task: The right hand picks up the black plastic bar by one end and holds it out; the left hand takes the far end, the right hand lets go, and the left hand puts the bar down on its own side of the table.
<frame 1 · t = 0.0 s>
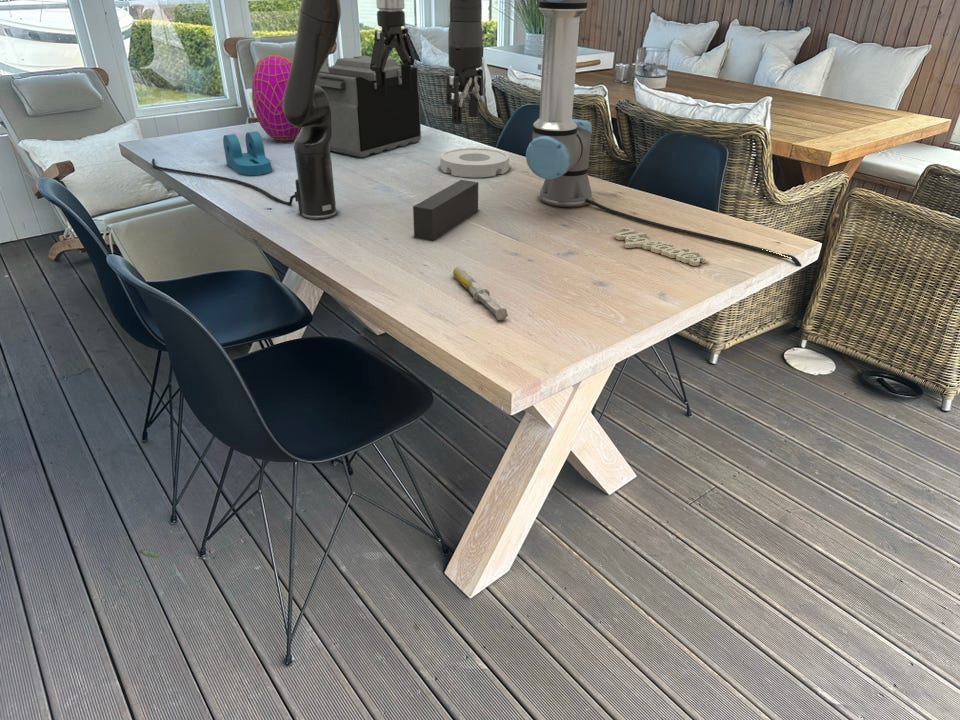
left hand: (465, 120, 159), 29 cm above the table, tool pointing down, fingers open, 8 cm apart
right hand: (394, 93, 197), 28 cm above the table, tool pointing down, fingers open, 13 cm apart
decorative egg: (284, 140, 265), on the table
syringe: (478, 297, 145), on the table
cooler box: (371, 146, 258), on the table
camera mount: (251, 168, 229), on the table
ashtray: (474, 168, 233), on the table
bar: (447, 223, 185), on the table
decorative sign: (655, 249, 170), on the table
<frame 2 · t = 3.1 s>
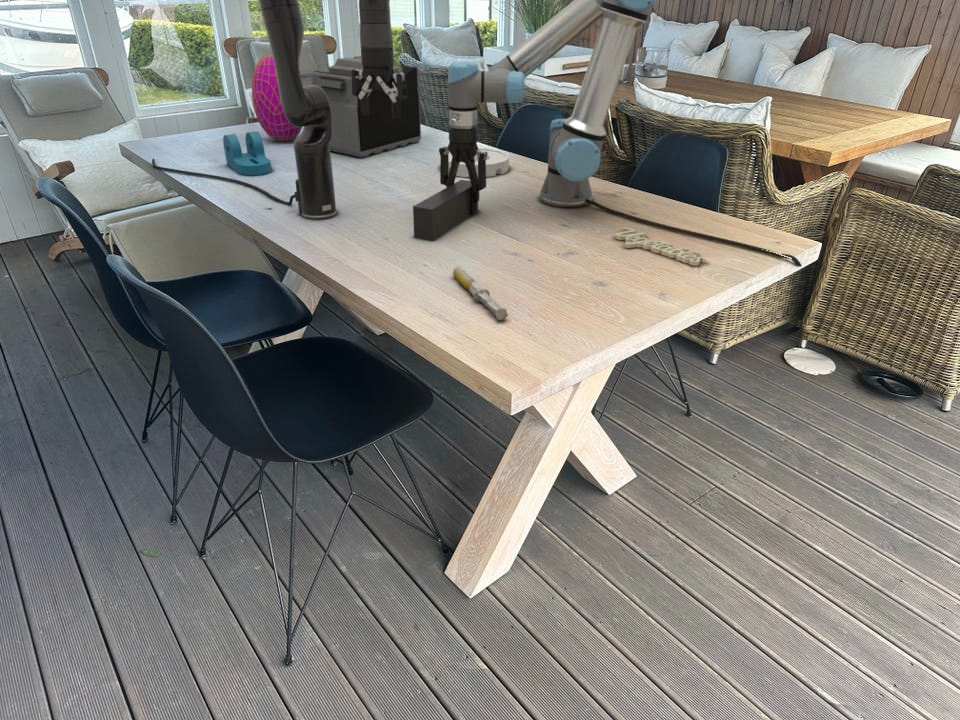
left hand: (380, 116, 168), 28 cm above the table, tool pointing down, fingers open, 8 cm apart
right hand: (463, 211, 192), 1 cm above the table, tool pointing down, fingers closed on bar, 5 cm apart
bar: (447, 223, 185), on the table, touching right hand
everything else where it was.
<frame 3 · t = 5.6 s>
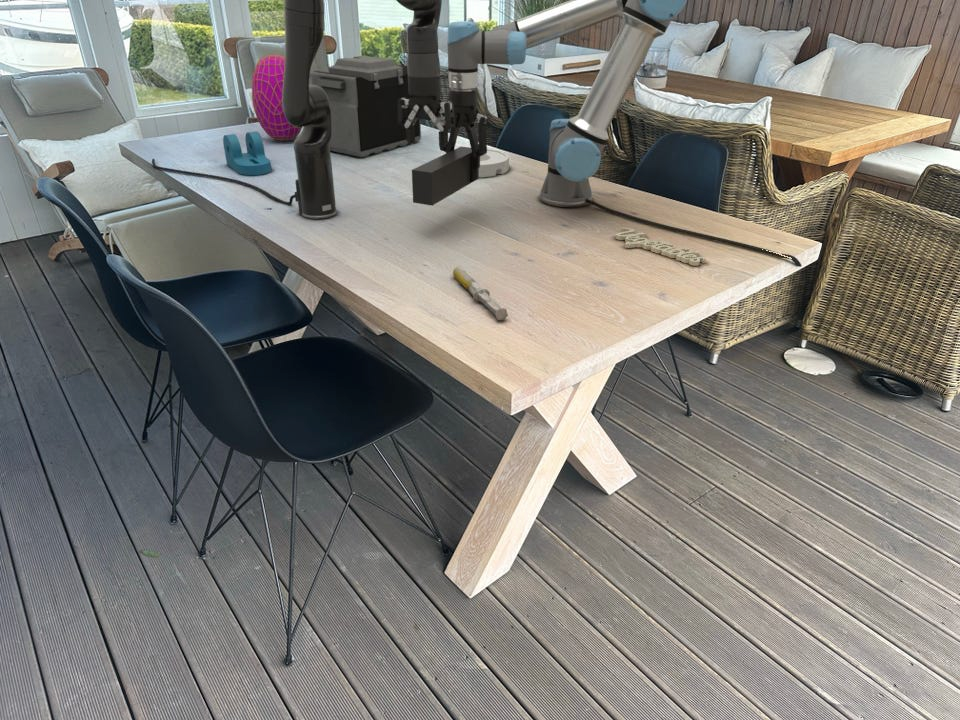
left hand: (427, 145, 166), 23 cm above the table, tool pointing down, fingers open, 8 cm apart
right hand: (463, 179, 187), 10 cm above the table, tool pointing down, fingers closed on bar, 5 cm apart
bar: (447, 190, 180), point 9 cm above the table, touching right hand
everything else where it was.
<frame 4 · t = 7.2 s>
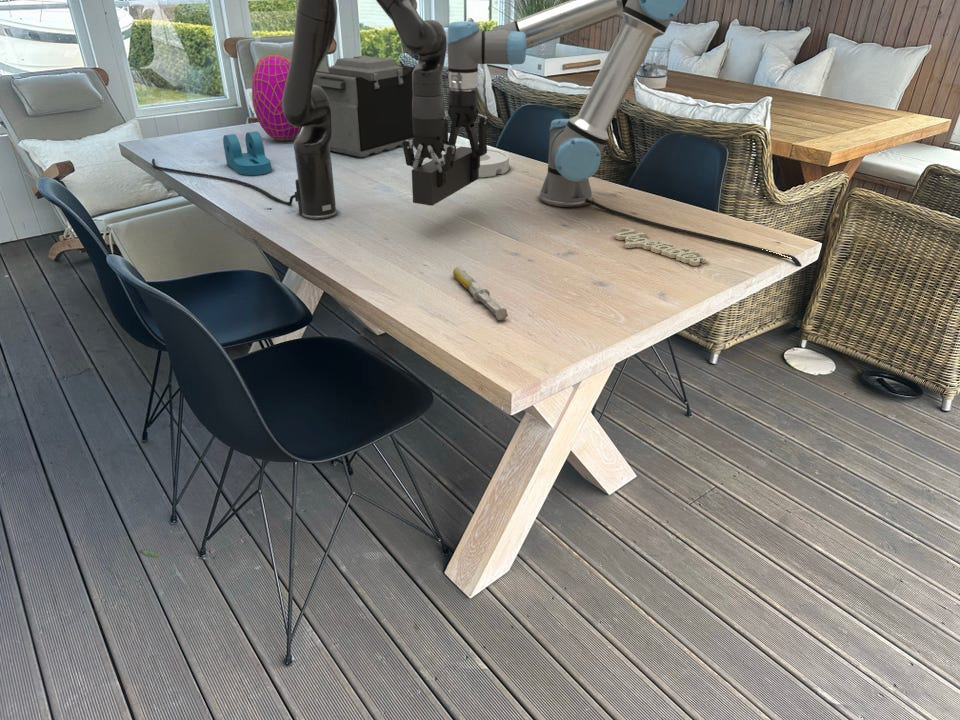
left hand: (430, 184, 171), 13 cm above the table, tool pointing down, fingers closed on bar, 5 cm apart
right hand: (463, 179, 187), 10 cm above the table, tool pointing down, fingers closed on bar, 5 cm apart
bar: (447, 190, 180), point 9 cm above the table, touching right hand, left hand
everything else where it was.
when the right hand's fingers open (10 cm above the table, at t = 8.0 s): bar stays where it is, held by the left hand.
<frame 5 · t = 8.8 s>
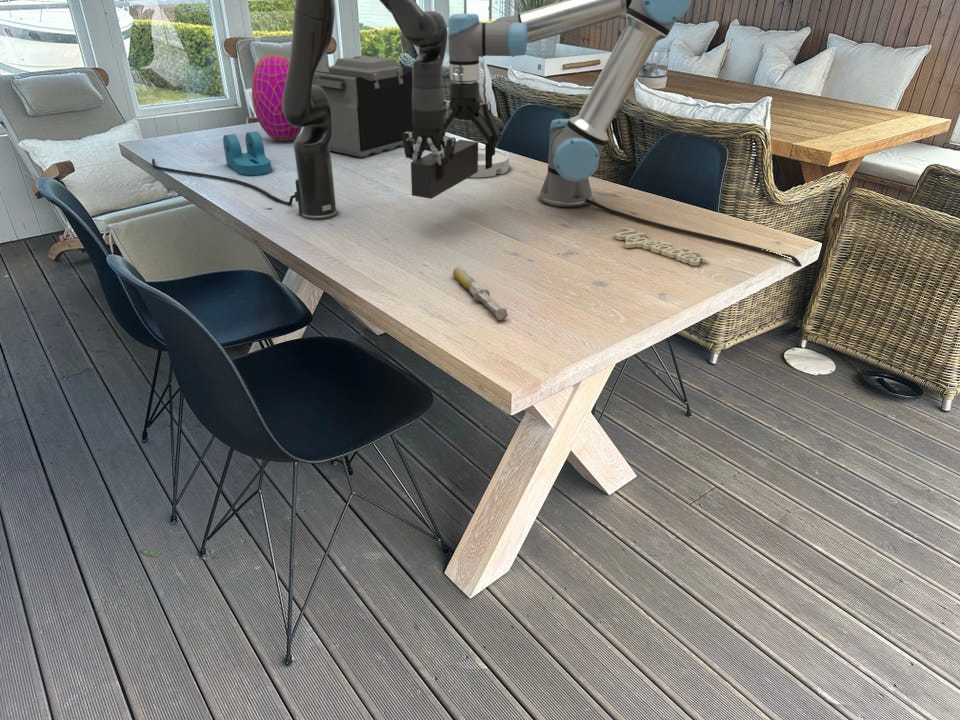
left hand: (429, 177, 170), 15 cm above the table, tool pointing down, fingers closed on bar, 5 cm apart
right hand: (465, 165, 186), 13 cm above the table, tool pointing down, fingers open, 13 cm apart
bar: (446, 183, 179), point 11 cm above the table, touching left hand
everything else where it was.
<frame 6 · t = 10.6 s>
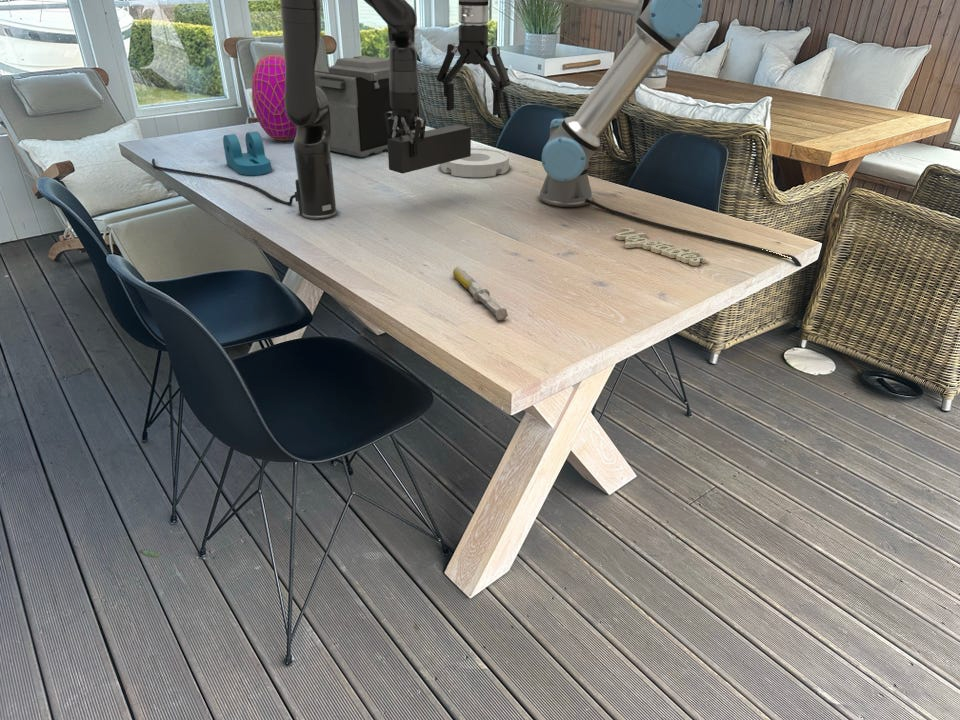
left hand: (406, 154, 185), 16 cm above the table, tool pointing down, fingers closed on bar, 5 cm apart
right hand: (472, 112, 183), 26 cm above the table, tool pointing down, fingers open, 13 cm apart
bar: (431, 162, 193), point 12 cm above the table, touching left hand
everything else where it was.
when the left hand's fingers open (6 cm above the table, at t = 14.3 s): bar stays where it is, resting on ashtray.
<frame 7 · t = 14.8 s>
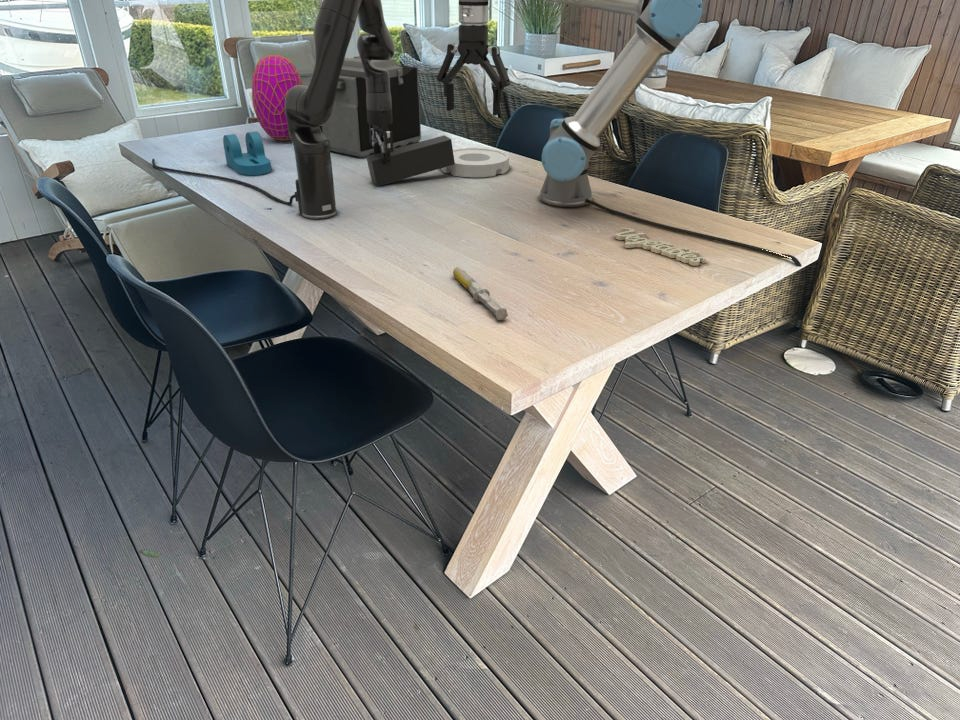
left hand: (382, 161, 213), 7 cm above the table, tool pointing down, fingers open, 8 cm apart
right hand: (472, 112, 183), 26 cm above the table, tool pointing down, fingers open, 13 cm apart
ashtray: (474, 168, 233), on the table, touching bar
bar: (413, 173, 219), point 2 cm above the table, tilted 9°, touching ashtray
everything else where it was.
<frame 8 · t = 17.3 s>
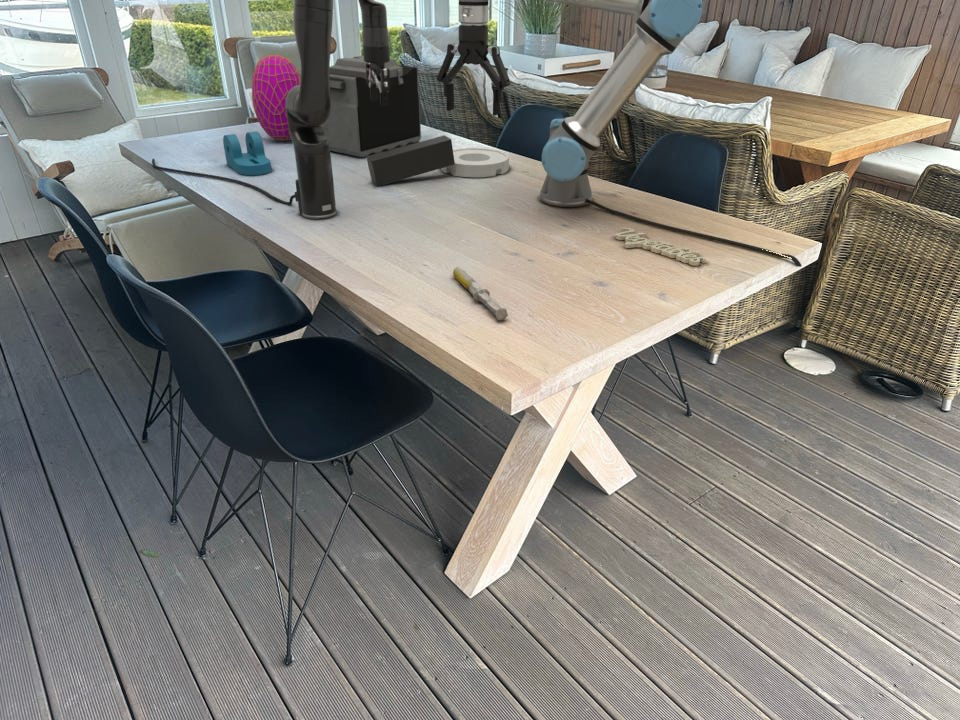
left hand: (379, 103, 204), 24 cm above the table, tool pointing down, fingers open, 8 cm apart
right hand: (472, 112, 183), 26 cm above the table, tool pointing down, fingers open, 13 cm apart
nothing on the table moved.
at the end: bar inside the target area (10.0 cm from its centre), point 2.2 cm above the table; the left hand is holding nothing; the right hand is holding nothing; bar at rest at the end (0.0 cm/s) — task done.
